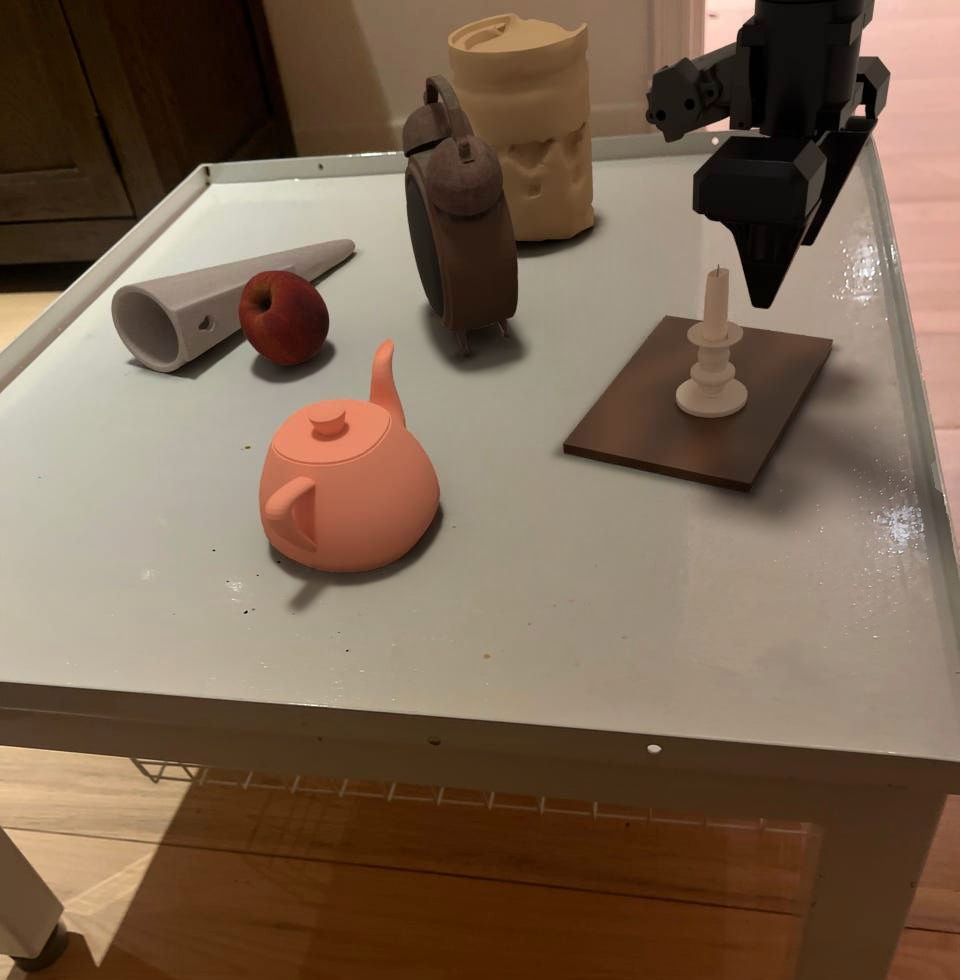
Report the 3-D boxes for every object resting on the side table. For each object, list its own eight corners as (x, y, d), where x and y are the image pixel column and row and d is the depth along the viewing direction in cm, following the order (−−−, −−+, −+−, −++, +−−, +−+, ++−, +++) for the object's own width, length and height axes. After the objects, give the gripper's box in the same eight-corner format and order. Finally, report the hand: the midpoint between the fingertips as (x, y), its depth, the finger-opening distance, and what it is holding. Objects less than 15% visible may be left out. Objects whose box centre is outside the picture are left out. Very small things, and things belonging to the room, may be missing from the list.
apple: (236, 367, 86) (207, 281, 80) (299, 329, 90) (276, 244, 84) (290, 389, 82) (264, 300, 76) (354, 348, 86) (334, 260, 80)
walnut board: (831, 348, 76) (833, 339, 76) (749, 493, 65) (750, 483, 64) (665, 323, 82) (665, 314, 82) (563, 452, 71) (562, 443, 70)
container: (523, 198, 105) (507, 6, 92) (618, 218, 98) (615, 14, 85) (446, 244, 99) (418, 45, 86) (542, 268, 92) (527, 58, 79)
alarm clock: (413, 305, 90) (370, 67, 76) (487, 287, 91) (458, 48, 77) (450, 379, 80) (409, 120, 66) (533, 358, 81) (510, 98, 67)
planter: (288, 199, 101) (99, 280, 84) (354, 205, 97) (170, 291, 80) (302, 274, 105) (126, 365, 89) (365, 283, 102) (194, 379, 85)
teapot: (224, 587, 65) (175, 472, 58) (344, 436, 76) (315, 325, 69) (384, 619, 61) (352, 498, 54) (486, 454, 72) (470, 338, 65)
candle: (669, 415, 71) (672, 280, 64) (682, 378, 74) (687, 245, 67) (741, 421, 69) (753, 283, 62) (751, 383, 73) (764, 248, 65)
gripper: (723, -48, 60) (712, 208, 71) (599, 42, 49) (609, 327, 60) (912, -56, 55) (869, 219, 66) (820, 41, 44) (788, 351, 55)
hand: (783, 274), depth 62 cm, fingers open, 9 cm apart
